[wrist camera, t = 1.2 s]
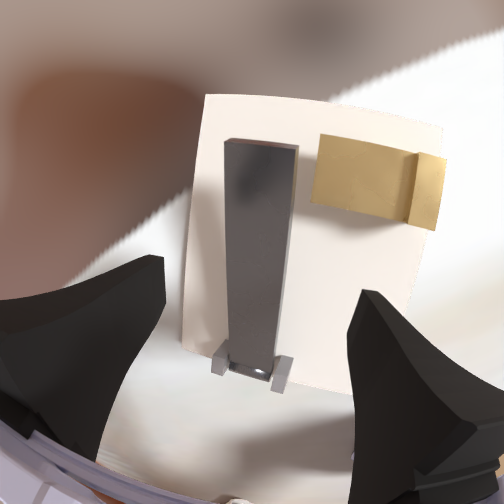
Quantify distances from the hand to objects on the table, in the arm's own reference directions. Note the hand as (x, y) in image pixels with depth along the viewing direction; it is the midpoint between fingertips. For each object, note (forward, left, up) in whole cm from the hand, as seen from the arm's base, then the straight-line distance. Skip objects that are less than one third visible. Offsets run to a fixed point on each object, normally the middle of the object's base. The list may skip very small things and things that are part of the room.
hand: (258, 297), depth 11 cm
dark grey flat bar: (-2, +1, -6) cm, 6 cm away
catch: (+5, -4, -9) cm, 11 cm away
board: (-1, 0, -11) cm, 11 cm away
